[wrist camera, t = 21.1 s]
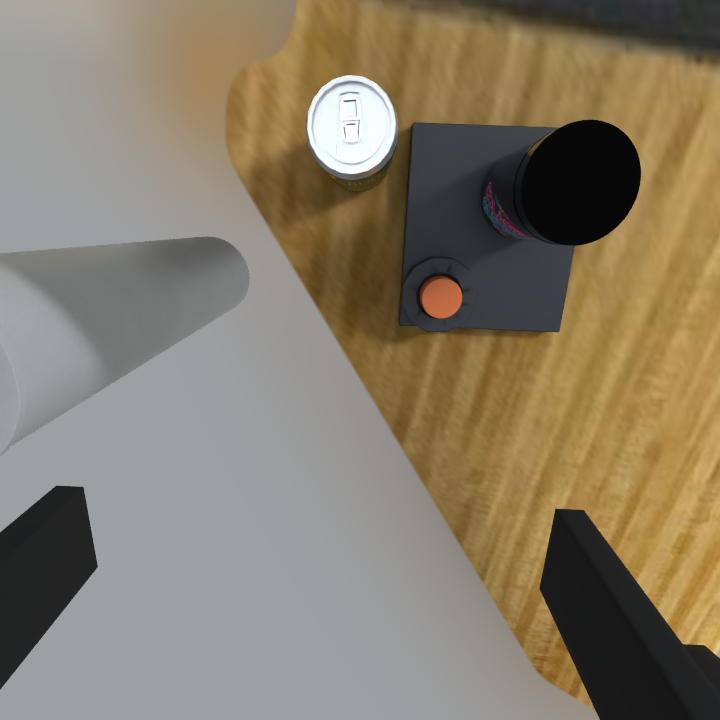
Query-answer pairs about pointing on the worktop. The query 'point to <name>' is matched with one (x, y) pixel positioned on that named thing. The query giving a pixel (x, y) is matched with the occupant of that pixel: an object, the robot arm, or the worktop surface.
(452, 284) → the button
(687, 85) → the worktop surface
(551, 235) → the supplement container
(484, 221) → the kitchen scale
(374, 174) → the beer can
